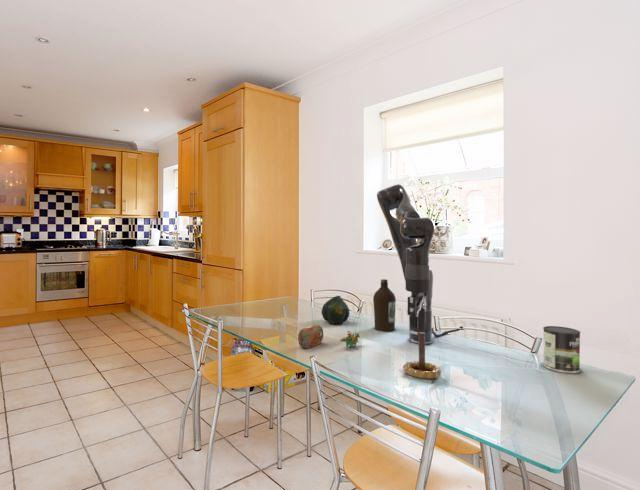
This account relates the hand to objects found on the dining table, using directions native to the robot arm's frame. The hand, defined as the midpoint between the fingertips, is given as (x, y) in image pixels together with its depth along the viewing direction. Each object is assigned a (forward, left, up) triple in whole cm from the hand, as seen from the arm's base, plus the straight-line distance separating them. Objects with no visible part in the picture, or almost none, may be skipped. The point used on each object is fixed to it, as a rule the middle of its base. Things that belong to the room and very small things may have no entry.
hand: (418, 324), depth 132 cm
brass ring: (-4, 0, -17) cm, 17 cm away
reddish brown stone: (-12, -48, -19) cm, 53 cm away
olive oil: (-58, -32, -19) cm, 69 cm away
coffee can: (-43, +37, -19) cm, 60 cm away
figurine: (-17, -32, -19) cm, 41 cm away
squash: (-56, -58, -19) cm, 83 cm away
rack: (-5, 0, -19) cm, 20 cm away
